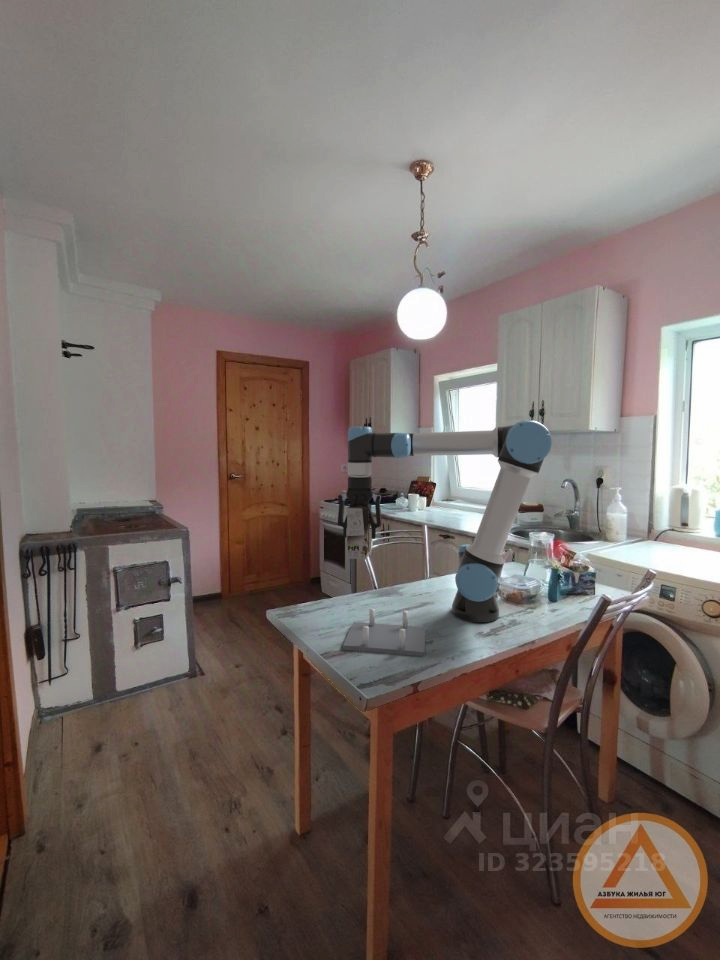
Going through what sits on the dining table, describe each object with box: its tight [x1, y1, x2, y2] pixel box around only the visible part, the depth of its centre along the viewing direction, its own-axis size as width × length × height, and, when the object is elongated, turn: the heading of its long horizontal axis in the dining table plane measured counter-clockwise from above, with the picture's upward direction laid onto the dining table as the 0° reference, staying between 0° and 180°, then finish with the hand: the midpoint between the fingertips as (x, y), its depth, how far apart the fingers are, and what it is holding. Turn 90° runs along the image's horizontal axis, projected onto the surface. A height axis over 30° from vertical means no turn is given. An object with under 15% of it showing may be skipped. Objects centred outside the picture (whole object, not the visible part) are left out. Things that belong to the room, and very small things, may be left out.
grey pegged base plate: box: [342, 607, 426, 657], centre depth 127 cm, size 22×16×6 cm
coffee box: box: [346, 503, 372, 560], centre depth 141 cm, size 9×6×16 cm
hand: (359, 547), depth 141 cm, fingers closed on coffee box, 6 cm apart
